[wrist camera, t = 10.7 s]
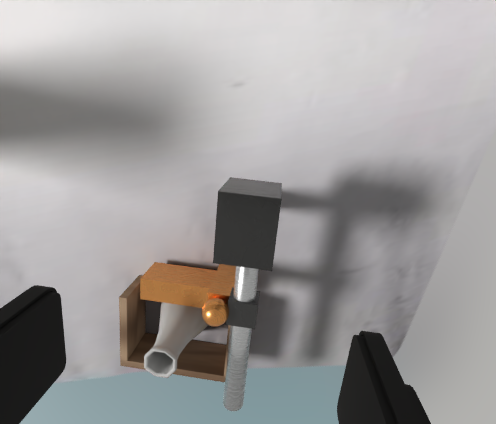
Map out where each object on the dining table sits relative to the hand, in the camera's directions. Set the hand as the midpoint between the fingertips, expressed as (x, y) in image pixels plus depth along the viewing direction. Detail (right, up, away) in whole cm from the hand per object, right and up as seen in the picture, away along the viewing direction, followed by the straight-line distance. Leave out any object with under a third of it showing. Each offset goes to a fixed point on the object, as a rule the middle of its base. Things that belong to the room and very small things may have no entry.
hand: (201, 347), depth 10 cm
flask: (-6, -7, +29) cm, 31 cm away
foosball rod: (-3, -2, +26) cm, 26 cm away
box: (-6, -8, +30) cm, 31 cm away
